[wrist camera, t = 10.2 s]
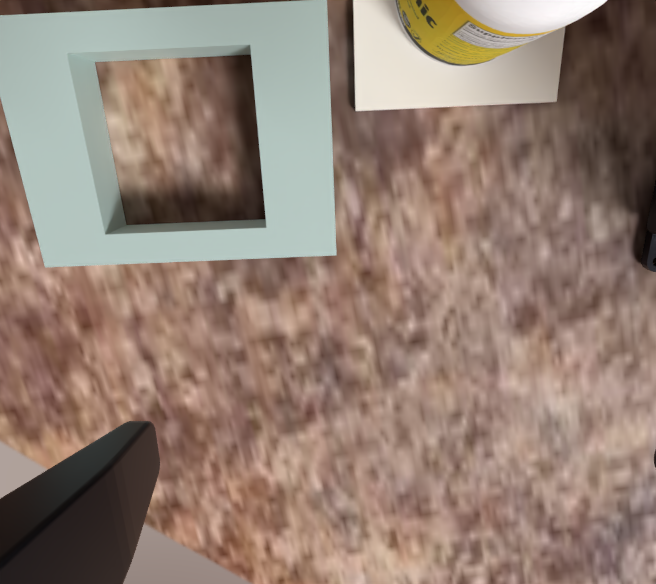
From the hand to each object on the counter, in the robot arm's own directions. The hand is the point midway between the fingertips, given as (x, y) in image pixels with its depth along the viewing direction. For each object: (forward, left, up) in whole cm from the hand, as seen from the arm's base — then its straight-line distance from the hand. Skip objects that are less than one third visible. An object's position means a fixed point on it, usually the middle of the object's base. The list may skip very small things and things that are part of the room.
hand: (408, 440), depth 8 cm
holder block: (+7, -5, -13) cm, 16 cm away
